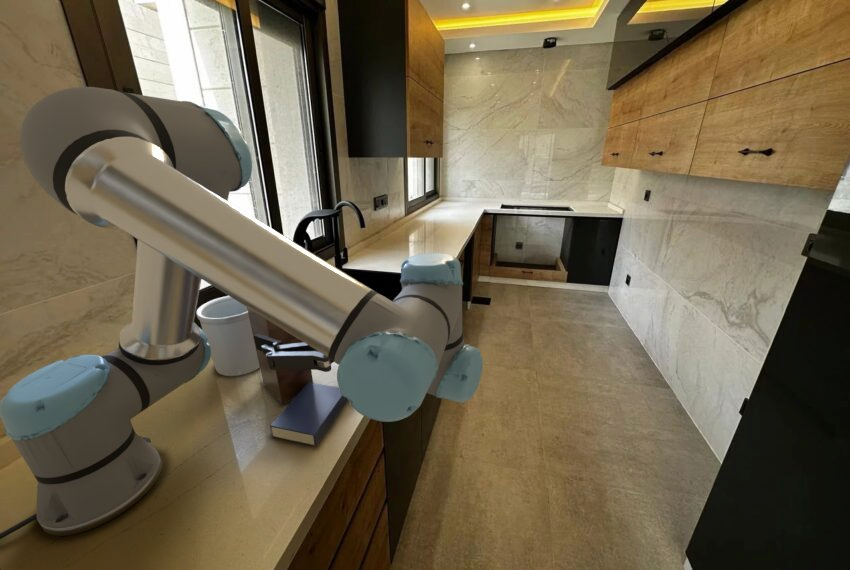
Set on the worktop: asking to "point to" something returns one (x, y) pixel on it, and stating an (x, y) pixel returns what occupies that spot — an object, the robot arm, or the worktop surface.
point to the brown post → (278, 381)
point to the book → (309, 414)
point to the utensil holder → (229, 336)
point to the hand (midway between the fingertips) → (290, 324)
